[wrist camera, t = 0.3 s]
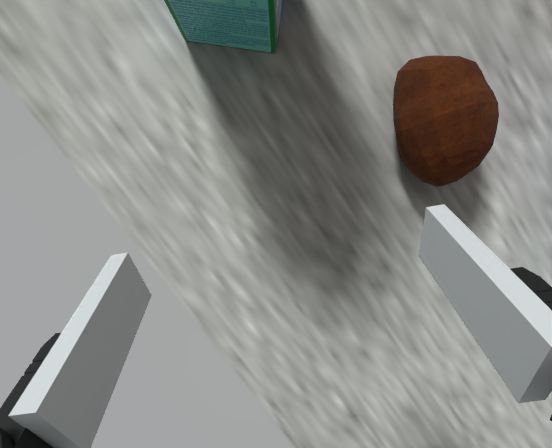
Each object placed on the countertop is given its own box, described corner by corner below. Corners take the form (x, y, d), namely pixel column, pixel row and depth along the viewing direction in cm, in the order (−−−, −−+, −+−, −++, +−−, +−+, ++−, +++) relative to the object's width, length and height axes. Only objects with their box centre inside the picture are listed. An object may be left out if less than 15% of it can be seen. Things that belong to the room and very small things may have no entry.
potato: (446, 62, 29) (508, 0, 21) (475, 178, 29) (548, 159, 21) (369, 81, 29) (402, 27, 21) (397, 196, 29) (441, 185, 21)
